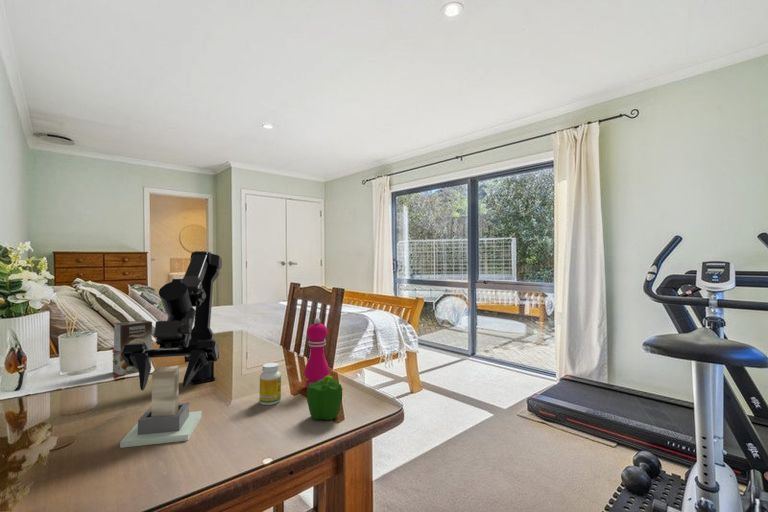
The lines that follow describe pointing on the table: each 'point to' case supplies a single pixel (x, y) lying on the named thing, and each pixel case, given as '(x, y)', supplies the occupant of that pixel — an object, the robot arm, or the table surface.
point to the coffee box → (129, 334)
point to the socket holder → (162, 428)
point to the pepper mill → (316, 353)
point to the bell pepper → (324, 398)
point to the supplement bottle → (270, 384)
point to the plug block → (165, 391)
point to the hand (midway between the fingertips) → (163, 388)
